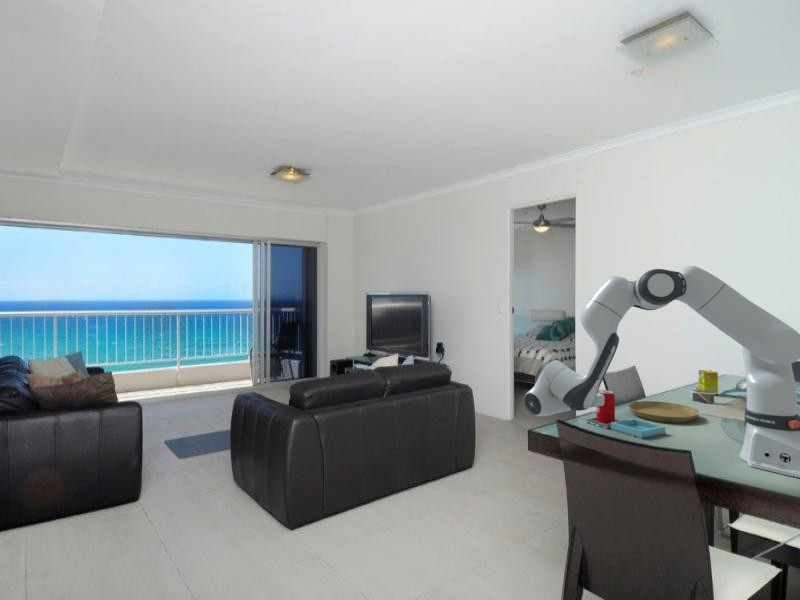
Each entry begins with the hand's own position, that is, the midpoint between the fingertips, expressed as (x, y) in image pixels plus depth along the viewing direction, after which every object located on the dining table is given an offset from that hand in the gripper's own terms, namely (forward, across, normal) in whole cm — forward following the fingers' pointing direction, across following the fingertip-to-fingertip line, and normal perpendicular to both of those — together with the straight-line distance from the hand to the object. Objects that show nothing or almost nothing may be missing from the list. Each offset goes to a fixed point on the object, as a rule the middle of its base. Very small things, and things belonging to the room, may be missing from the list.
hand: (585, 392), depth 164 cm
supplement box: (+99, -2, +13) cm, 100 cm away
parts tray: (+12, -12, +13) cm, 21 cm away
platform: (+79, -7, +13) cm, 81 cm away
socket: (+12, 0, +13) cm, 18 cm away
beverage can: (+12, 0, +13) cm, 18 cm away
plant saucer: (+41, -7, +13) cm, 44 cm away
